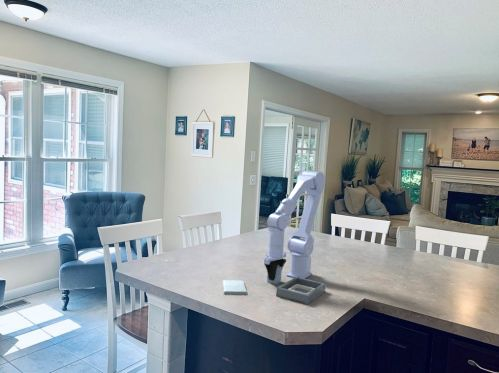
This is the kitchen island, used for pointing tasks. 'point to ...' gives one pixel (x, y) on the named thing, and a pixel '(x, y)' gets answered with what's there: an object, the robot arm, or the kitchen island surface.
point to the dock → (301, 290)
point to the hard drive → (234, 287)
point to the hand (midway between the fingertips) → (274, 278)
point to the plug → (276, 276)
